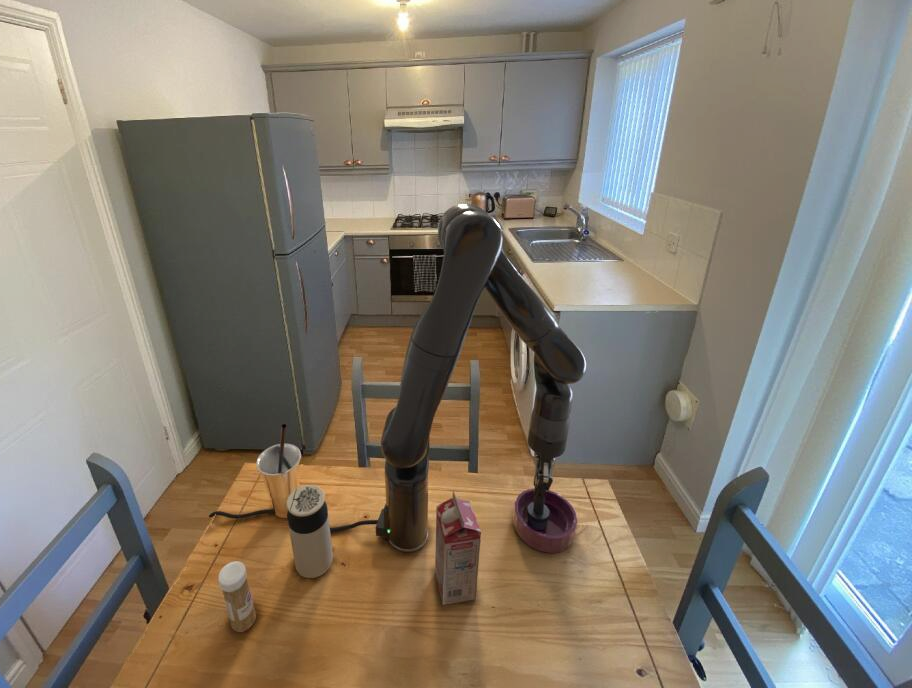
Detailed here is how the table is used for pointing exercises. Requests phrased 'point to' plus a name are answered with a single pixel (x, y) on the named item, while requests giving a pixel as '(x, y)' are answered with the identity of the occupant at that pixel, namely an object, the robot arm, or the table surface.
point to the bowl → (558, 526)
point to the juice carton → (456, 550)
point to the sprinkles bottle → (237, 596)
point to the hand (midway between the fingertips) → (538, 490)
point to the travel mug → (309, 531)
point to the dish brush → (538, 514)
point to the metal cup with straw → (280, 472)
